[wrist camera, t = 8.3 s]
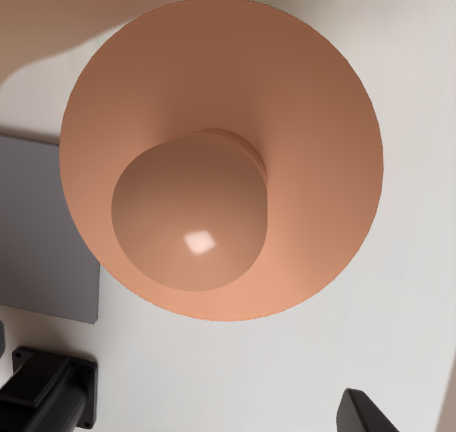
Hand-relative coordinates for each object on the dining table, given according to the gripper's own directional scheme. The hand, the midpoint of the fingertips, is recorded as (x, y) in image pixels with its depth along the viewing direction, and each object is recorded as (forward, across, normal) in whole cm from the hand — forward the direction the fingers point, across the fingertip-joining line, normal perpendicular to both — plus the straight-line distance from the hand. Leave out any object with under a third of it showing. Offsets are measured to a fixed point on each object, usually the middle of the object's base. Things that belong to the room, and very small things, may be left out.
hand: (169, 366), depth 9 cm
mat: (+13, +14, +3) cm, 19 cm away
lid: (+3, 0, -4) cm, 5 cm away
